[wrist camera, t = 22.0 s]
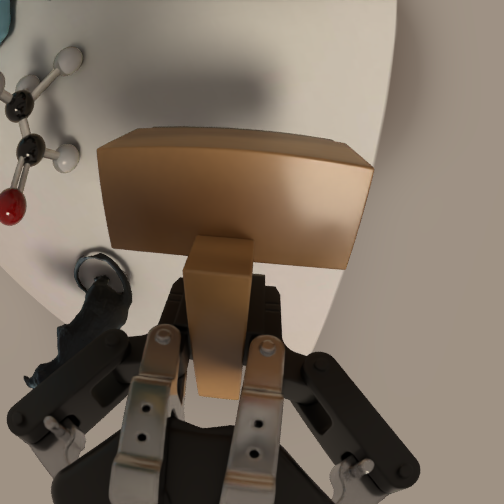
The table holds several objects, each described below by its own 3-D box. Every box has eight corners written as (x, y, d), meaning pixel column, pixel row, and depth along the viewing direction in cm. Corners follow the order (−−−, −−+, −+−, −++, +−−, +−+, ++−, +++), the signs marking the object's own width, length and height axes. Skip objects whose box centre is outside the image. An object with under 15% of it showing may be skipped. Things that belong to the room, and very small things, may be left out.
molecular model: (86, 42, 15) (-6, 44, 6) (114, 163, 22) (39, 221, 13) (26, 80, 16) (-56, 105, 7) (54, 184, 23) (-15, 240, 14)
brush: (149, 122, 12) (60, 168, 6) (338, 136, 12) (402, 193, 6) (164, 294, 18) (132, 384, 12) (299, 307, 18) (309, 403, 12)
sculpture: (57, 262, 28) (-7, 354, 16) (117, 241, 26) (42, 360, 14) (92, 311, 33) (47, 403, 20) (154, 301, 31) (111, 418, 18)
